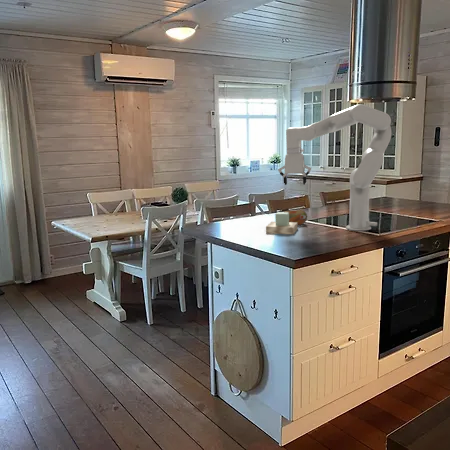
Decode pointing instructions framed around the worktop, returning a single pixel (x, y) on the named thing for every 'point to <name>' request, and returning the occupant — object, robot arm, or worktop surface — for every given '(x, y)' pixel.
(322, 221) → the worktop surface
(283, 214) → the sage cube
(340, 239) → the worktop surface
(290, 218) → the tin
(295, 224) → the birch block
